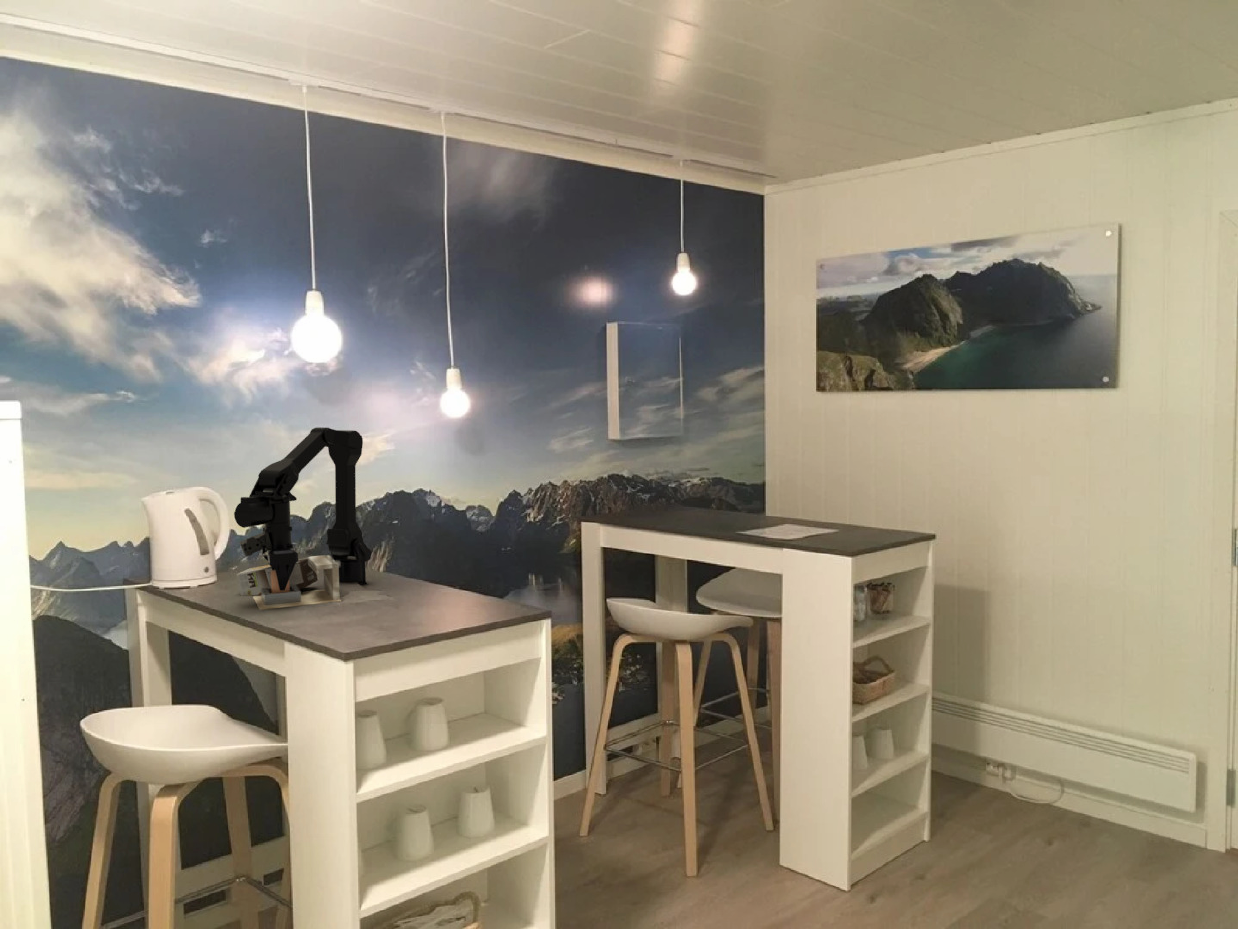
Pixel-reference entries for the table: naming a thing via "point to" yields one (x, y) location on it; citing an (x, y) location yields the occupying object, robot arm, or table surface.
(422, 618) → the table surface
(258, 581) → the coffee box
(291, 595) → the socket
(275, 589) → the peg
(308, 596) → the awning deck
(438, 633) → the table surface
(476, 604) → the table surface
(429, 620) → the table surface
